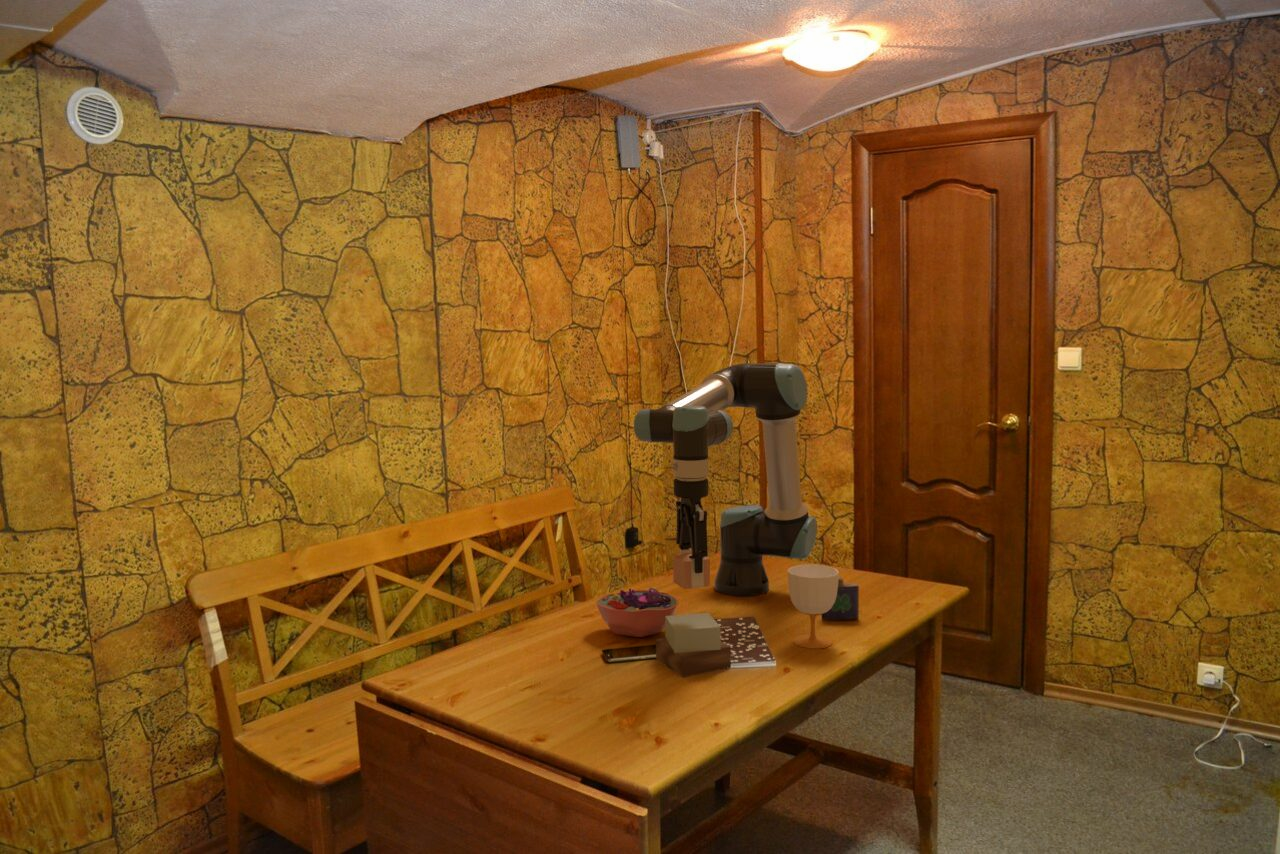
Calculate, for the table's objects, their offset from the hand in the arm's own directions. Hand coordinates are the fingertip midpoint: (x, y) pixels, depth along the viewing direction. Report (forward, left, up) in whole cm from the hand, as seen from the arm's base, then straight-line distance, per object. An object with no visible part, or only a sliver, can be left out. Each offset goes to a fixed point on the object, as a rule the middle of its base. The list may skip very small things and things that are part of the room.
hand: (691, 582), depth 202 cm
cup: (-4, +31, -19) cm, 36 cm away
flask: (-17, +45, -19) cm, 52 cm away
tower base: (0, 0, -19) cm, 19 cm away
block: (0, 0, 0) cm, 0 cm away
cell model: (-23, -6, -19) cm, 30 cm away
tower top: (0, 0, -14) cm, 14 cm away
